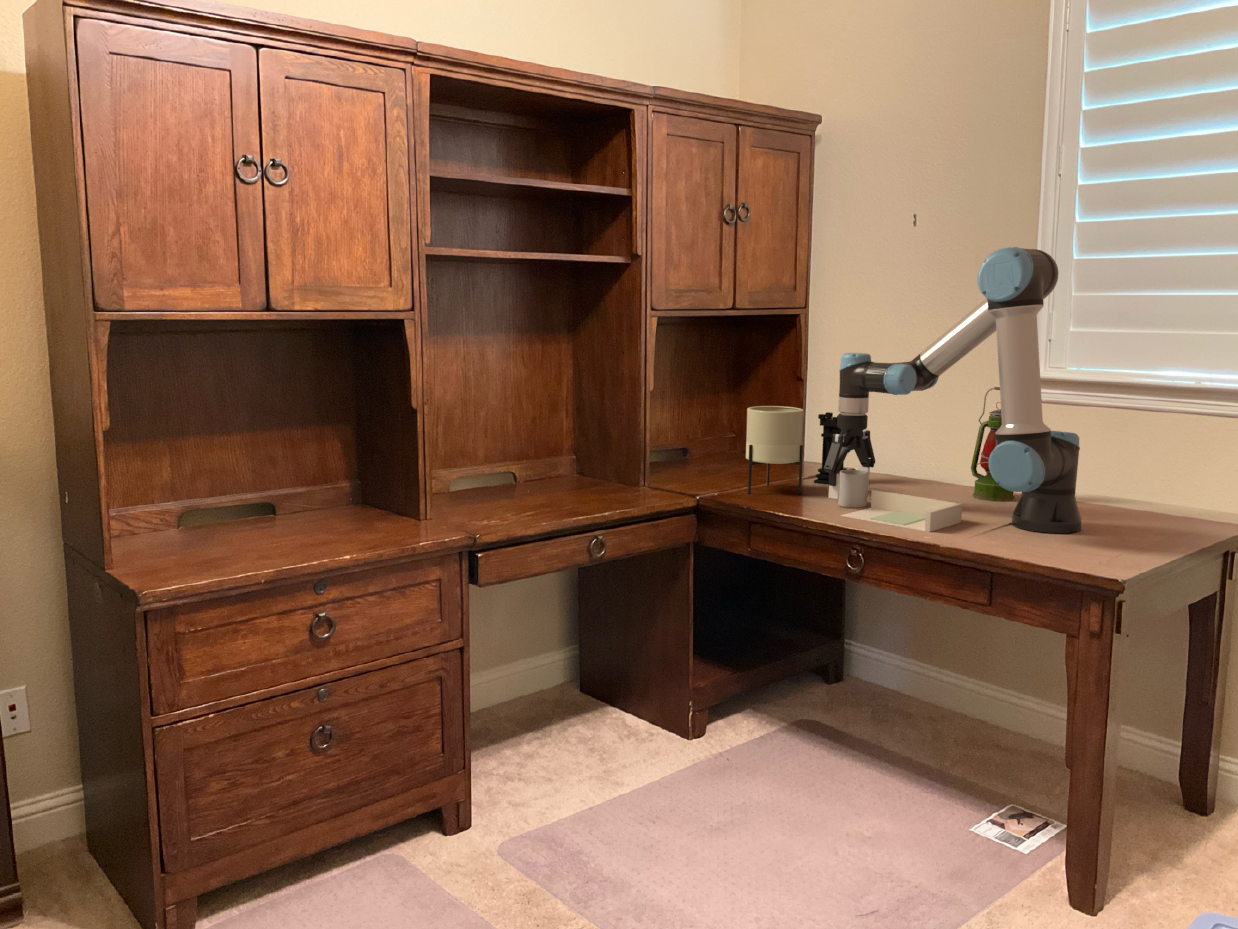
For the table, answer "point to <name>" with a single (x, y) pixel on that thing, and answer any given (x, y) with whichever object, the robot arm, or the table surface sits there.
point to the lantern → (986, 484)
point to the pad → (899, 518)
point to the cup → (853, 488)
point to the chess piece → (827, 444)
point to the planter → (774, 438)
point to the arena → (911, 510)
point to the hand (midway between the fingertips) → (848, 494)
